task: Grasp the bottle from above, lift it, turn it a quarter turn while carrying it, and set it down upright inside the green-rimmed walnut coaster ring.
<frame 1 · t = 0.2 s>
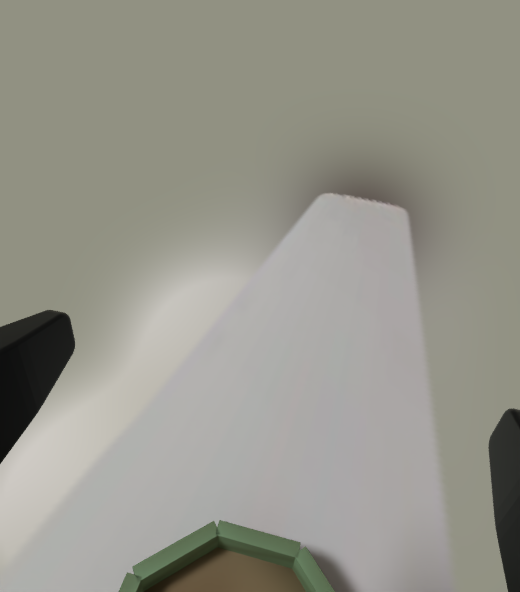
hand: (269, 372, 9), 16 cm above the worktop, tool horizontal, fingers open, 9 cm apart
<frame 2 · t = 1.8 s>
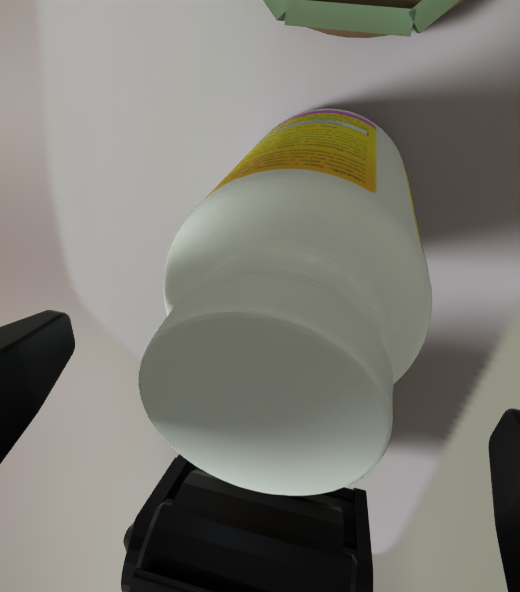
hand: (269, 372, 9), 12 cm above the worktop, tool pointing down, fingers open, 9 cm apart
supplement bottle: (325, 188, 18), on the worktop
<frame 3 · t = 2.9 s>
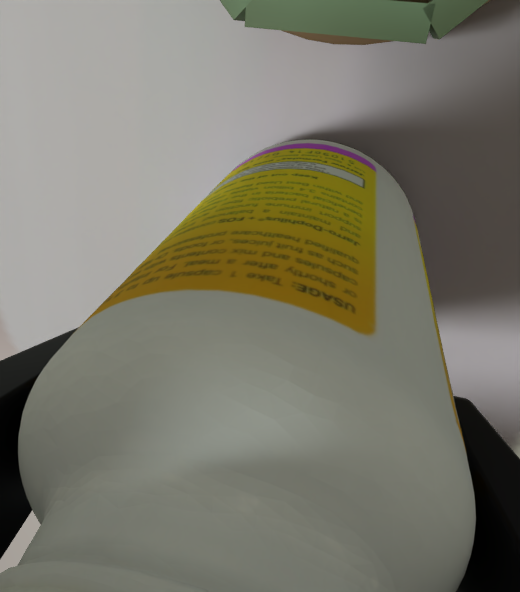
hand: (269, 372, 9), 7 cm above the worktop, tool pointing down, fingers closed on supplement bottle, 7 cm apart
supplement bottle: (310, 237, 14), on the worktop, touching gripper
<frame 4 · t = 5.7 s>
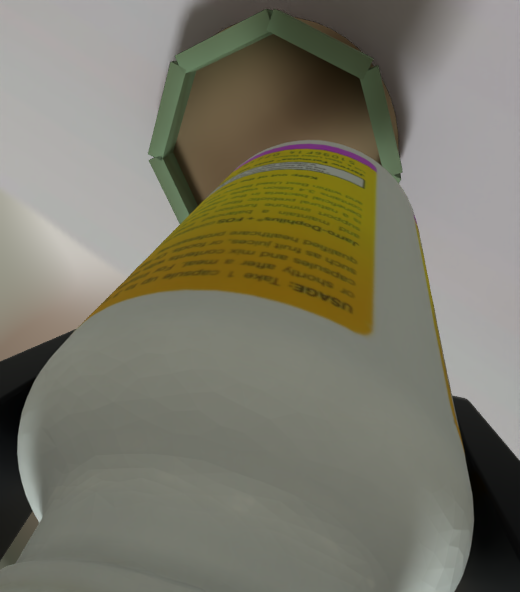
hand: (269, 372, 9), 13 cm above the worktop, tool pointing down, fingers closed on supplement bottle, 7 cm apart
supplement bottle: (311, 237, 14), point 7 cm above the worktop, touching gripper
coaster ring: (275, 156, 19), on the worktop
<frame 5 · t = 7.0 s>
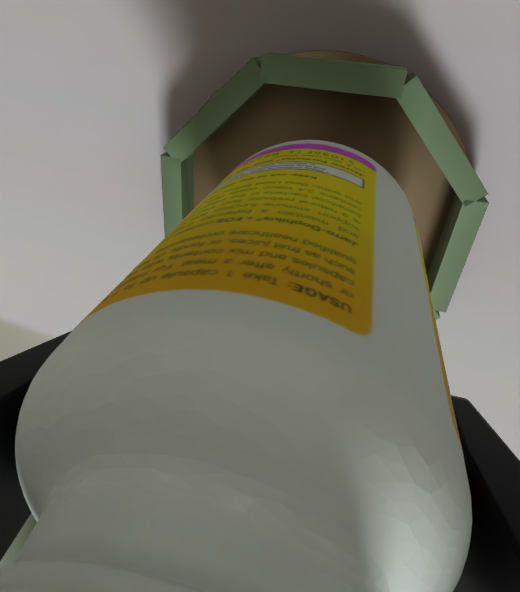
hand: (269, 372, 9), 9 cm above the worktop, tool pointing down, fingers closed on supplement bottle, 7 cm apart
supplement bottle: (311, 237, 14), point 2 cm above the worktop, touching gripper
coaster ring: (312, 216, 16), on the worktop
when the fingers open (8 cm above the worktop, at t = 8.0 s): supplement bottle drops 1 cm, resting on coaster ring.
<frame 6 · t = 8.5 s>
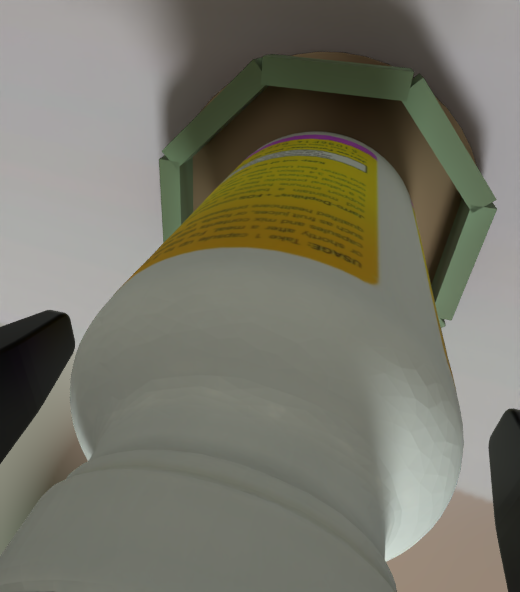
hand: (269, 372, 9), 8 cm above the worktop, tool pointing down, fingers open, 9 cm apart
supplement bottle: (315, 224, 15), resting on coaster ring
coaster ring: (314, 221, 15), on the worktop
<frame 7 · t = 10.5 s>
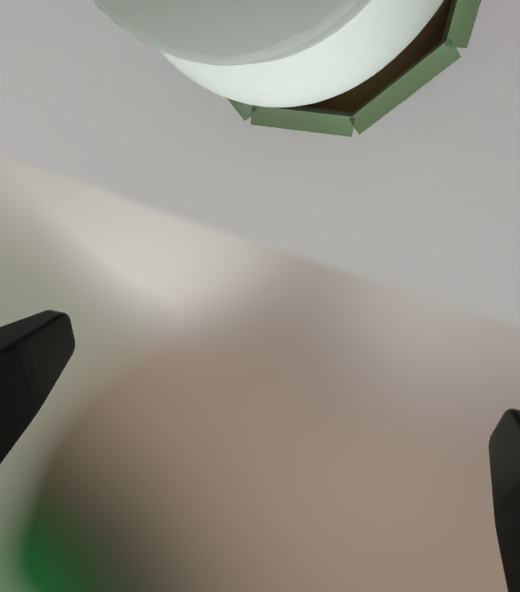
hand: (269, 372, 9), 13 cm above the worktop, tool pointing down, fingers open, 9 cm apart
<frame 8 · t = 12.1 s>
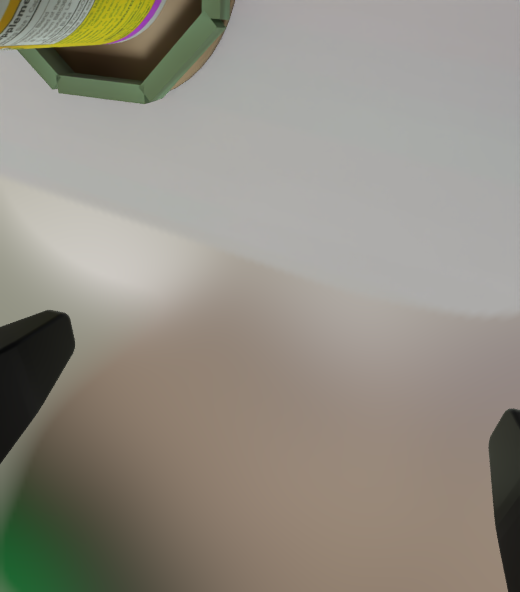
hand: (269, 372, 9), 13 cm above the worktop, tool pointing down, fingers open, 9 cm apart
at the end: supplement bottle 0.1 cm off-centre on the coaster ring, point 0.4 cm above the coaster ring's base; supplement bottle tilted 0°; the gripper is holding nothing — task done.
